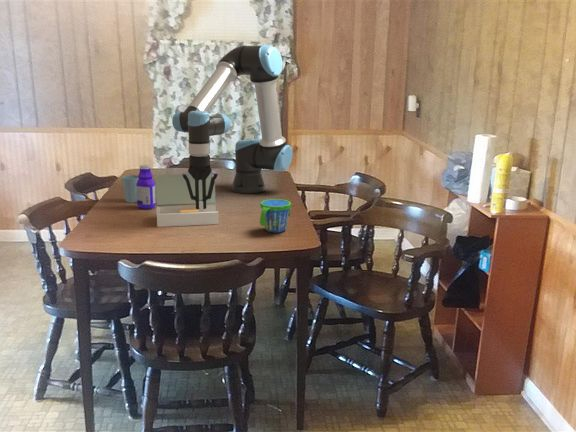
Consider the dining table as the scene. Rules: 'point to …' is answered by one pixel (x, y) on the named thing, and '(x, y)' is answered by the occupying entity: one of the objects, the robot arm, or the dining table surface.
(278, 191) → the dining table surface
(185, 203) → the cover
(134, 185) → the cup
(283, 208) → the snack cup
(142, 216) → the dining table surface
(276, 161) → the robot arm
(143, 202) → the bottle
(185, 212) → the orange rectangular block
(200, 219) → the grey rectangular box
